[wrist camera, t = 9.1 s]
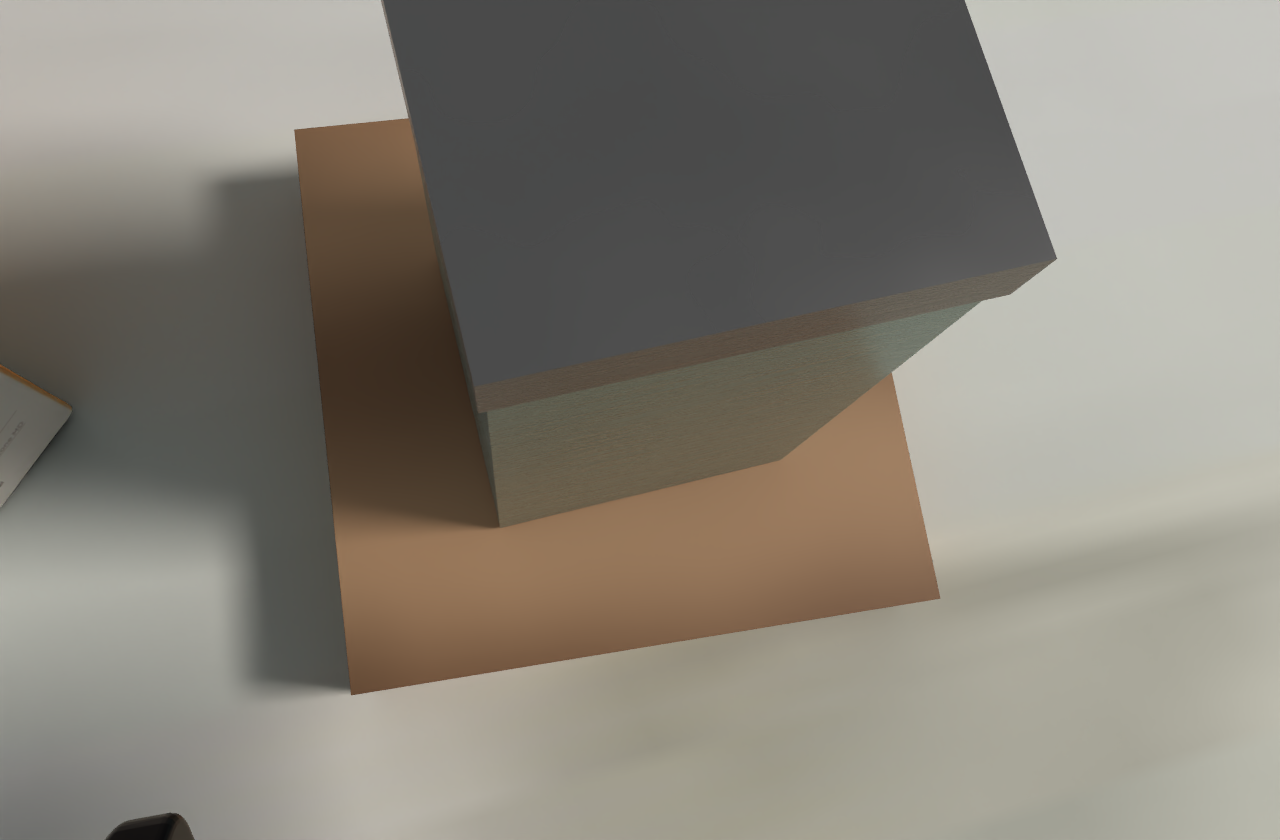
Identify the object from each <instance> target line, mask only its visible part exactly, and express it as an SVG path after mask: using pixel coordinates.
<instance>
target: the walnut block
mask: <svg viewBox="0 0 1280 840" xmlns="http://www.w3.org/2000/svg"><path fill="white" fill-rule="evenodd" d="M294 131H295V141H296V151H297V161H298V171H299V181H300V191H301V201H302V211H303V221H304V231H305V241H306V251H307V261H308V271H309V281H310V291H311V301H312V311H313V321H314V331H315V341H316V351H317V361H318V371H319V380H320V390H321V400H322V410H323V420H324V430H325V440H326V450H327V460H328V470H329V480H330V490H331V500H332V510H333V520H334V530H335V540H336V550H337V560H338V570H339V580H340V590H341V600H342V610H343V620H344V629H345V639H346V649H347V659H348V669H349V679H350V689H351V695H356V694H362V693H368V692H374V691H380V690H386V689H392V688H398V687H404V686H411V685H417V684H423V683H429V682H435V681H441V680H447V679H453V678H459V677H465V676H471V675H478V674H484V673H490V672H496V671H502V670H508V669H514V668H520V667H526V666H532V665H538V664H544V663H551V662H557V661H563V660H569V659H575V658H581V657H587V656H593V655H599V654H605V653H611V652H618V651H624V650H630V649H636V648H642V647H648V646H654V645H660V644H666V643H672V642H678V641H685V640H691V639H697V638H703V637H709V636H715V635H721V634H727V633H733V632H739V631H745V630H752V629H758V628H764V627H770V626H776V625H782V624H788V623H794V622H800V621H806V620H812V619H818V618H825V617H831V616H837V615H843V614H849V613H855V612H861V611H867V610H873V609H879V608H885V607H892V606H898V605H904V604H910V603H916V602H922V601H928V600H934V599H940V595H939V590H938V585H937V581H936V576H935V571H934V567H933V562H932V558H931V553H930V548H929V544H928V539H927V534H926V530H925V525H924V521H923V516H922V511H921V507H920V502H919V497H918V493H917V488H916V484H915V479H914V474H913V470H912V465H911V460H910V456H909V451H908V446H907V442H906V437H905V433H904V428H903V423H902V419H901V414H900V409H899V405H898V400H897V396H896V391H895V386H894V382H893V377H892V372H891V373H890V374H889V375H887V376H886V377H885V378H884V379H882V380H881V381H880V382H879V383H877V384H876V385H875V386H874V387H872V388H871V389H870V390H868V391H867V392H866V393H865V394H863V395H862V396H861V397H860V398H858V399H857V400H856V401H855V402H853V403H852V404H851V405H850V406H848V407H847V408H846V409H844V410H843V411H842V412H841V413H839V414H838V415H837V416H836V417H834V418H833V419H832V420H831V421H829V422H828V423H827V424H826V425H824V426H823V427H822V428H820V429H819V430H818V431H817V432H815V433H814V434H813V435H812V436H810V437H809V438H808V439H807V440H805V441H804V442H803V443H802V444H800V445H799V446H798V447H796V448H795V449H794V450H793V451H791V452H790V453H789V454H788V455H786V456H785V457H784V458H783V459H781V460H779V461H775V462H770V463H766V464H762V465H758V466H754V467H750V468H746V469H742V470H737V471H733V472H729V473H725V474H721V475H717V476H713V477H709V478H704V479H700V480H696V481H692V482H688V483H684V484H680V485H676V486H672V487H667V488H663V489H659V490H655V491H651V492H647V493H643V494H639V495H634V496H630V497H626V498H622V499H618V500H614V501H610V502H606V503H602V504H597V505H593V506H589V507H585V508H581V509H577V510H573V511H569V512H564V513H560V514H556V515H552V516H548V517H544V518H540V519H536V520H532V521H527V522H523V523H519V524H515V525H511V526H507V527H503V528H500V526H499V521H498V517H497V513H496V509H495V504H494V500H493V496H492V491H491V487H490V483H489V479H488V474H487V470H486V466H485V462H484V457H483V453H482V449H481V444H480V440H479V436H478V432H477V427H476V423H475V419H474V415H473V410H472V406H471V402H470V397H469V393H468V389H467V385H466V380H465V376H464V372H463V367H462V363H461V359H460V355H459V350H458V346H457V342H456V338H455V333H454V329H453V325H452V320H451V316H450V312H449V308H448V303H447V299H446V295H445V291H444V286H443V282H442V278H441V273H440V269H439V265H438V261H437V256H436V252H435V246H434V241H433V236H432V231H431V226H430V220H429V215H428V210H427V205H426V200H425V194H424V189H423V184H422V179H421V174H420V168H419V163H418V158H417V153H416V148H415V143H414V139H413V134H412V130H411V126H410V121H409V118H408V119H398V120H388V121H378V122H368V123H358V124H347V125H337V126H327V127H317V128H307V129H297V130H294Z"/></svg>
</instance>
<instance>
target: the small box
mask: <svg viewBox="0 0 1280 840" xmlns="http://www.w3.org/2000/svg"><path fill="white" fill-rule="evenodd" d="M71 413H72V408H71V406H70V405H69V404H67V403H66V402H64V401H62V400H60V399H59V398H57V397H55V396H53V395H52V394H50V393H48V392H46V391H45V390H43V389H41V388H39V387H38V386H36V385H34V384H33V383H31V382H29V381H28V380H26V379H24V378H23V377H21V376H19V375H17V374H16V373H14V372H12V371H11V370H9V369H7V368H6V367H4V366H2V365H1V364H0V508H1V507H2V505H3V504H4V503H5V501H6V500H7V499H8V498H9V496H10V495H11V494H12V492H13V491H14V490H15V488H16V487H17V486H18V484H19V483H20V481H21V480H22V479H23V477H24V476H25V475H26V473H27V472H28V471H29V469H30V468H31V466H32V465H33V464H34V462H35V461H36V460H37V458H38V457H39V456H40V455H41V453H42V452H43V451H44V449H45V448H46V447H47V445H48V444H49V443H50V441H51V440H52V439H53V437H54V436H55V435H56V433H57V432H58V431H59V429H60V428H61V427H62V426H63V424H64V423H65V422H66V421H67V419H68V418H69V416H70V415H71Z"/></svg>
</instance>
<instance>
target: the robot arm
mask: <svg viewBox="0 0 1280 840" xmlns="http://www.w3.org/2000/svg"><path fill="white" fill-rule="evenodd" d="M105 840H195V839H194V837H193V835H192V832H191V830H190V828H189V825H188V824H187V822H186V820H185V819H184V818H183V817H182V816H181V815H179V814H177V813H167V814H161V815H156V816H150V817H144V818H139V819H133V820H129V821H126V822H124V823H122V824H120V825H119V826H118V827H116V828H115V829H114V830H113V831H112V832H111V833H110V834H109V835H108V836H107V838H106V839H105Z"/></svg>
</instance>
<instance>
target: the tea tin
mask: <svg viewBox="0 0 1280 840" xmlns="http://www.w3.org/2000/svg"><path fill="white" fill-rule="evenodd" d="M381 2H382V7H383V11H384V15H385V19H386V24H387V28H388V32H389V36H390V41H391V45H392V49H393V53H394V58H395V62H396V66H397V70H398V75H399V79H400V83H401V87H402V92H403V96H404V100H405V104H406V109H407V113H408V117H409V121H410V126H411V130H412V134H413V139H414V143H415V148H416V153H417V158H418V163H419V168H420V174H421V179H422V184H423V189H424V194H425V200H426V205H427V210H428V215H429V220H430V226H431V231H432V236H433V241H434V246H435V252H436V256H437V261H438V265H439V269H440V273H441V278H442V282H443V286H444V291H445V295H446V299H447V303H448V308H449V312H450V316H451V320H452V325H453V329H454V333H455V338H456V342H457V346H458V350H459V355H460V359H461V363H462V367H463V372H464V376H465V380H466V385H467V389H468V393H469V397H470V402H471V406H472V410H473V415H474V419H475V423H476V427H477V432H478V436H479V440H480V444H481V449H482V453H483V457H484V462H485V466H486V470H487V474H488V479H489V483H490V487H491V491H492V496H493V500H494V504H495V509H496V513H497V517H498V521H499V526H500V528H503V527H507V526H511V525H515V524H519V523H523V522H527V521H532V520H536V519H540V518H544V517H548V516H552V515H556V514H560V513H564V512H569V511H573V510H577V509H581V508H585V507H589V506H593V505H597V504H602V503H606V502H610V501H614V500H618V499H622V498H626V497H630V496H634V495H639V494H643V493H647V492H651V491H655V490H659V489H663V488H667V487H672V486H676V485H680V484H684V483H688V482H692V481H696V480H700V479H704V478H709V477H713V476H717V475H721V474H725V473H729V472H733V471H737V470H742V469H746V468H750V467H754V466H758V465H762V464H766V463H770V462H775V461H779V460H781V459H783V458H784V457H785V456H786V455H788V454H789V453H790V452H791V451H793V450H794V449H795V448H796V447H798V446H799V445H800V444H802V443H803V442H804V441H805V440H807V439H808V438H809V437H810V436H812V435H813V434H814V433H815V432H817V431H818V430H819V429H820V428H822V427H823V426H824V425H826V424H827V423H828V422H829V421H831V420H832V419H833V418H834V417H836V416H837V415H838V414H839V413H841V412H842V411H843V410H844V409H846V408H847V407H848V406H850V405H851V404H852V403H853V402H855V401H856V400H857V399H858V398H860V397H861V396H862V395H863V394H865V393H866V392H867V391H868V390H870V389H871V388H872V387H874V386H875V385H876V384H877V383H879V382H880V381H881V380H882V379H884V378H885V377H886V376H887V375H889V374H890V373H891V372H892V371H894V370H895V369H896V368H898V367H899V366H900V365H901V364H903V363H904V362H905V361H906V360H908V359H909V358H910V357H911V356H913V355H914V354H915V353H916V352H918V351H919V350H920V349H922V348H923V347H924V346H925V345H927V344H928V343H929V342H930V341H932V340H933V339H934V338H935V337H937V336H938V335H939V334H940V333H942V332H943V331H944V330H946V329H947V328H948V327H949V326H951V325H952V324H953V323H954V322H956V321H957V320H958V319H959V318H961V317H962V316H963V315H964V314H966V313H967V312H968V311H970V310H971V309H972V308H973V307H975V306H976V305H977V304H978V303H980V302H981V301H983V300H987V299H992V298H996V297H1001V296H1005V295H1010V294H1011V293H1013V292H1014V291H1015V290H1017V289H1018V288H1019V287H1021V286H1022V285H1023V284H1024V283H1026V282H1027V281H1028V280H1030V279H1031V278H1032V277H1034V276H1035V275H1036V274H1038V273H1039V272H1040V271H1042V270H1043V269H1044V268H1046V267H1047V266H1048V265H1049V264H1051V263H1052V262H1053V261H1055V260H1056V259H1057V257H1056V255H1055V252H1054V249H1053V246H1052V243H1051V241H1050V238H1049V235H1048V232H1047V229H1046V227H1045V224H1044V221H1043V218H1042V215H1041V213H1040V210H1039V207H1038V204H1037V202H1036V199H1035V196H1034V193H1033V190H1032V188H1031V185H1030V182H1029V179H1028V176H1027V174H1026V171H1025V168H1024V165H1023V162H1022V160H1021V157H1020V154H1019V151H1018V148H1017V146H1016V143H1015V140H1014V137H1013V135H1012V132H1011V129H1010V126H1009V123H1008V121H1007V118H1006V115H1005V112H1004V109H1003V107H1002V104H1001V101H1000V98H999V95H998V93H997V90H996V87H995V84H994V81H993V79H992V76H991V73H990V70H989V68H988V65H987V62H986V59H985V56H984V54H983V51H982V48H981V45H980V42H979V40H978V37H977V34H976V31H975V28H974V26H973V23H972V20H971V17H970V14H969V12H968V9H967V6H966V3H965V1H964V0H381Z"/></svg>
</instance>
